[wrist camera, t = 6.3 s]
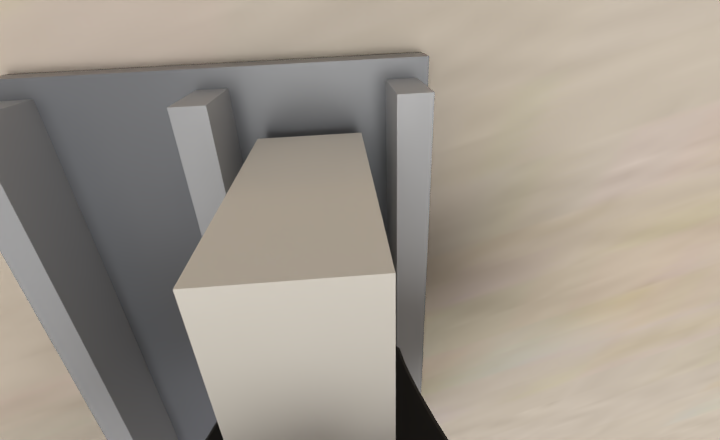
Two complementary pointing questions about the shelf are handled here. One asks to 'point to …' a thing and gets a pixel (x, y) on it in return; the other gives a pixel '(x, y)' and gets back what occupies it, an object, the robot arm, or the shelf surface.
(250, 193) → the long beige block
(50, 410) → the shelf surface
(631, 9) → the shelf surface
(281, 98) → the ridged grey tray
